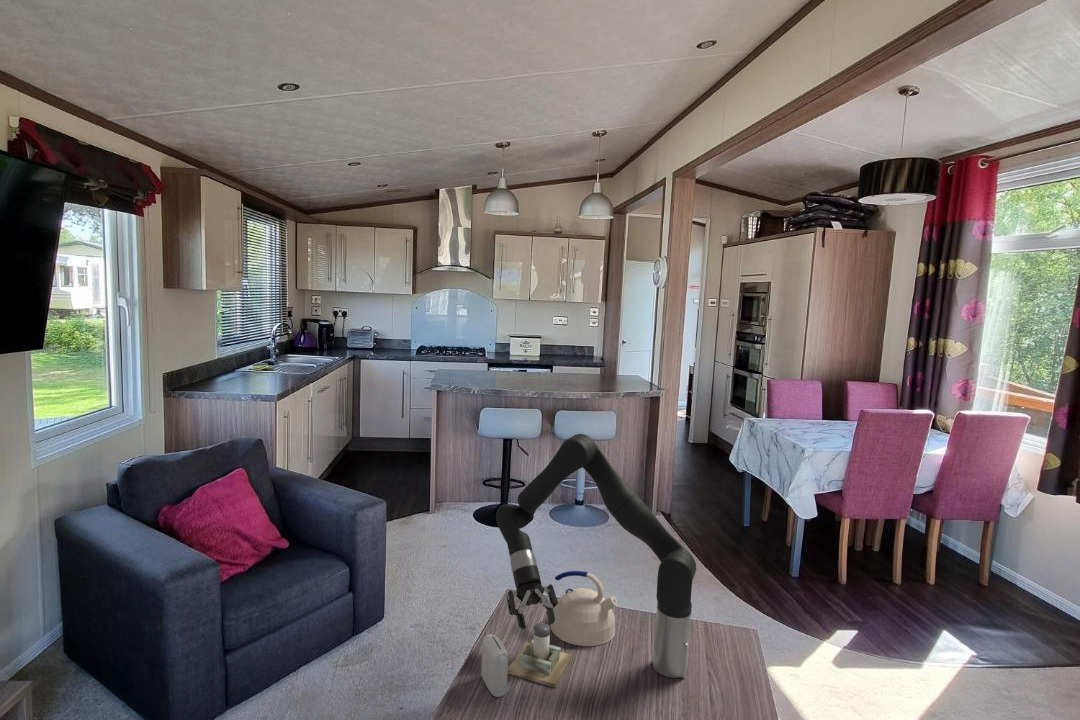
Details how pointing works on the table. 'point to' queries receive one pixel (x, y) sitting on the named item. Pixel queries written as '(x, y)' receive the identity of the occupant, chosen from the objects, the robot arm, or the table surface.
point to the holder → (540, 665)
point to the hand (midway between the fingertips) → (538, 626)
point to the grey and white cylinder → (541, 641)
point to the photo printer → (494, 665)
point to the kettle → (584, 614)
